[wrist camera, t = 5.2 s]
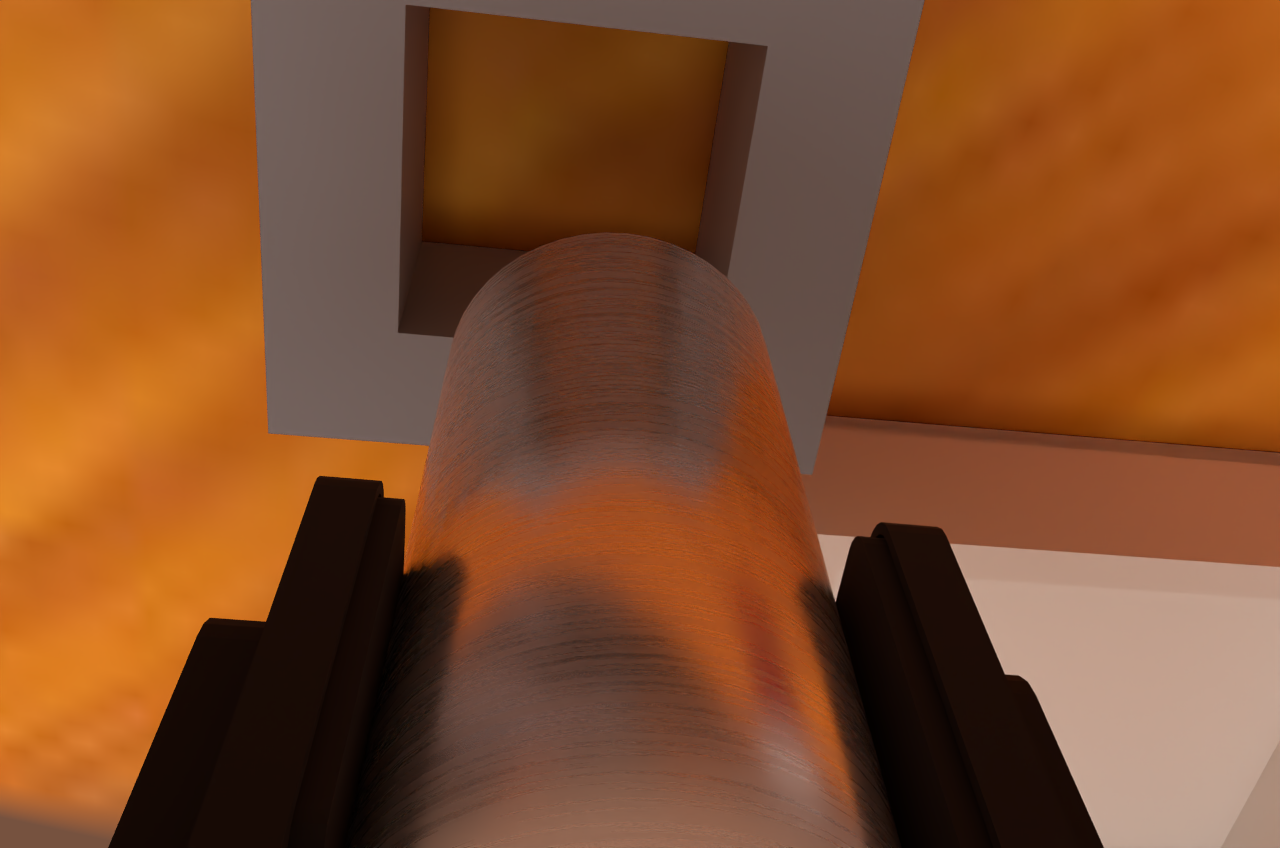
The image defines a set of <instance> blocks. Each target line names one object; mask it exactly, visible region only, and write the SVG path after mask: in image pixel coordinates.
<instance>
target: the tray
mask: <svg viewBox="0 0 1280 848" xmlns="http://www.w3.org/2000/svg"><path fill="white" fill-rule="evenodd" d="M801 476H802V480H803V484H804V487H805V491H806V495H807V499H808V502H809V506H810V510H811V513H812V517H813V521H814V525H815V528H816V532H817V536H818V539H819V543H820V547H821V550H822V554H823V558H824V562H825V565H826V569H827V573H828V576H829V580H830V584H831V588H832V591H833V595H834V599H835V602H836V598H837V594H838V590H839V587H840V583H841V579H842V575H843V571H844V567H845V564H846V560H847V556H848V552H849V549H850V546H851V543H852V541H853V539H854V538H855V537H857V536H864V537H871V534H872V531H873V530H874V528H875V526H876V525H877V524H879V523H880V522H886V523H898V524H910V525H922V526H934V527H939V528H941V529H942V530H943V531H944V533H945V534H946V536H947V538H948V541H949V543H950V545H951V548H952V550H953V553H954V555H955V557H956V560H957V562H958V564H959V567H960V569H961V571H962V574H963V576H964V579H965V581H966V583H967V586H968V588H969V590H970V593H971V595H972V598H973V600H974V602H975V605H976V607H977V609H978V612H979V614H980V616H981V619H982V621H983V624H984V626H985V628H986V631H987V633H988V635H989V638H990V640H991V642H992V645H993V647H994V650H995V652H996V654H997V657H998V659H999V661H1000V664H1001V666H1002V668H1003V671H1004V673H1005V674H1007V675H1019V676H1020V677H1022V678H1023V679H1025V680H1026V681H1028V683H1029V684H1030V686H1031V688H1032V689H1033V691H1034V692H1035V694H1036V696H1037V698H1038V701H1039V703H1040V705H1041V707H1042V710H1043V712H1044V714H1045V716H1046V719H1047V721H1048V723H1049V725H1050V728H1051V730H1052V732H1053V734H1054V737H1055V739H1056V741H1057V743H1058V746H1059V748H1060V750H1061V752H1062V754H1063V757H1064V759H1065V761H1066V763H1067V766H1068V768H1069V770H1070V772H1071V775H1072V777H1073V779H1074V781H1075V784H1076V786H1077V788H1078V790H1079V793H1080V795H1081V797H1082V799H1083V802H1084V804H1085V806H1086V808H1087V811H1088V813H1089V815H1090V817H1091V820H1092V822H1093V824H1094V826H1095V829H1096V831H1097V833H1098V835H1099V838H1100V840H1101V842H1102V844H1103V847H1104V848H1280V453H1276V452H1264V451H1252V450H1239V449H1227V448H1215V447H1203V446H1191V445H1178V444H1166V443H1154V442H1142V441H1130V440H1117V439H1105V438H1093V437H1081V436H1069V435H1056V434H1044V433H1032V432H1020V431H1007V430H995V429H983V428H971V427H959V426H946V425H934V424H922V423H910V422H898V421H885V420H873V419H861V418H849V417H837V416H826V419H825V423H824V427H823V432H822V436H821V440H820V444H819V448H818V453H817V457H816V461H815V465H814V470H813V474H812V475H807V474H801Z"/></svg>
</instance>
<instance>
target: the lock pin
mask: <svg viewBox="0 0 1280 848" xmlns="http://www.w3.org/2000/svg"><path fill="white" fill-rule="evenodd" d="M345 848H902V847H901V843H900V840H899V836H898V832H897V829H896V825H895V821H894V817H893V814H892V810H891V806H890V803H889V799H888V795H887V792H886V788H885V784H884V780H883V777H882V773H881V769H880V766H879V762H878V758H877V754H876V751H875V747H874V743H873V740H872V736H871V732H870V728H869V725H868V721H867V717H866V714H865V710H864V706H863V703H862V699H861V695H860V691H859V688H858V684H857V680H856V677H855V673H854V669H853V665H852V662H851V658H850V654H849V651H848V647H847V643H846V639H845V636H844V632H843V628H842V625H841V621H840V617H839V614H838V610H837V606H836V602H835V599H834V595H833V591H832V588H831V584H830V580H829V576H828V573H827V569H826V565H825V562H824V558H823V554H822V550H821V547H820V543H819V539H818V536H817V532H816V528H815V525H814V521H813V517H812V513H811V510H810V506H809V502H808V499H807V495H806V491H805V487H804V484H803V480H802V476H801V473H800V469H799V465H798V461H797V458H796V454H795V450H794V447H793V443H792V439H791V436H790V432H789V428H788V424H787V421H786V417H785V413H784V410H783V406H782V402H781V398H780V395H779V391H778V387H777V384H776V380H775V376H774V372H773V369H772V365H771V361H770V358H769V354H768V350H767V347H766V343H765V340H764V337H763V334H762V331H761V328H760V325H759V323H758V321H757V319H756V317H755V315H754V313H753V311H752V309H751V307H750V305H749V304H748V303H747V301H746V300H745V298H744V297H743V295H742V294H741V293H740V291H739V290H738V289H737V288H736V287H735V286H734V285H733V284H732V283H731V282H730V280H729V279H728V278H727V277H726V276H725V275H723V274H722V273H721V272H720V271H718V270H717V269H716V268H715V267H713V266H712V265H711V264H710V263H708V262H707V261H705V260H703V259H702V258H700V257H698V256H697V255H695V254H693V253H692V252H690V251H688V250H685V249H683V248H681V247H679V246H676V245H674V244H672V243H669V242H665V241H662V240H658V239H655V238H652V237H647V236H641V235H635V234H629V233H607V232H605V233H593V234H582V235H577V236H573V237H568V238H563V239H559V240H557V241H554V242H551V243H548V244H545V245H542V246H539V247H537V248H535V249H533V250H531V251H529V252H527V253H525V254H523V255H521V256H520V257H518V258H517V259H515V260H514V261H512V262H511V263H509V264H508V265H506V266H505V267H503V268H502V269H501V270H500V271H499V272H497V273H496V274H495V275H494V276H493V277H492V278H491V279H489V280H488V281H487V282H486V284H485V285H484V286H483V287H482V288H481V289H480V291H479V292H478V293H477V294H476V295H475V296H474V298H473V299H472V301H471V302H470V304H469V306H468V307H467V309H466V310H465V312H464V313H463V316H462V318H461V320H460V322H459V325H458V327H457V329H456V331H455V335H454V338H453V342H452V345H451V349H450V353H449V358H448V363H447V367H446V372H445V377H444V381H443V386H442V390H441V395H440V400H439V404H438V409H437V413H436V418H435V423H434V427H433V432H432V437H431V441H430V446H429V450H428V455H427V460H426V464H425V469H424V474H423V478H422V483H421V487H420V492H419V497H418V501H417V506H416V510H415V515H414V520H413V524H412V529H411V534H410V538H409V543H408V547H407V552H406V557H405V561H404V575H403V579H402V584H401V589H400V594H399V598H398V603H397V608H396V612H395V617H394V622H393V626H392V631H391V636H390V640H389V645H388V650H387V654H386V659H385V664H384V668H383V673H382V678H381V682H380V687H379V692H378V696H377V701H376V706H375V710H374V715H373V720H372V724H371V729H370V734H369V738H368V743H367V748H366V753H365V757H364V762H363V767H362V771H361V776H360V781H359V785H358V790H357V795H356V799H355V804H354V809H353V813H352V818H351V823H350V827H349V832H348V837H347V841H346V846H345Z"/></svg>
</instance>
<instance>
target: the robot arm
mask: <svg viewBox="0 0 1280 848" xmlns="http://www.w3.org/2000/svg"><path fill="white" fill-rule="evenodd" d="M404 545H405V500H404V499H395V498H384V490H383V483H382V481H375V480H363V479H351V478H339V477H327V476H319V477H318V478H317V480H316V482H315V484H314V487H313V490H312V493H311V495H310V498H309V501H308V504H307V507H306V510H305V513H304V515H303V518H302V521H301V524H300V527H299V530H298V532H297V535H296V538H295V541H294V544H293V547H292V550H291V552H290V555H289V558H288V561H287V564H286V567H285V569H284V572H283V575H282V578H281V581H280V584H279V587H278V589H277V592H276V595H275V598H274V601H273V604H272V606H271V609H270V612H269V615H268V618H267V621H266V622H261V621H247V620H233V619H219V618H209V619H208V620H207V621H206V622H205V623H204V624H203V626H202V628H201V630H200V631H199V633H198V635H197V637H196V640H195V642H194V645H193V647H192V649H191V652H190V654H189V656H188V659H187V661H186V664H185V666H184V668H183V671H182V673H181V675H180V678H179V680H178V683H177V685H176V687H175V690H174V692H173V695H172V697H171V699H170V702H169V704H168V706H167V709H166V711H165V714H164V716H163V718H162V721H161V723H160V726H159V728H158V730H157V733H156V735H155V737H154V740H153V742H152V745H151V747H150V749H149V752H148V754H147V757H146V759H145V761H144V764H143V766H142V768H141V771H140V773H139V776H138V778H137V780H136V783H135V785H134V788H133V790H132V792H131V795H130V797H129V799H128V802H127V804H126V807H125V809H124V811H123V814H122V816H121V819H120V821H119V823H118V826H117V828H116V830H115V833H114V835H113V838H112V840H111V842H110V845H109V847H108V848H345V846H346V841H347V837H348V832H349V827H350V823H351V818H352V813H353V809H354V804H355V799H356V795H357V790H358V785H359V781H360V776H361V771H362V767H363V762H364V757H365V753H366V748H367V743H368V738H369V734H370V729H371V724H372V720H373V715H374V710H375V706H376V701H377V696H378V692H379V687H380V682H381V678H382V673H383V668H384V664H385V659H386V654H387V650H388V645H389V640H390V636H391V631H392V626H393V622H394V617H395V612H396V608H397V603H398V598H399V594H400V589H401V584H402V579H403V575H404ZM836 606H837V610H838V614H839V617H840V621H841V625H842V628H843V632H844V636H845V639H846V643H847V647H848V651H849V654H850V658H851V662H852V665H853V669H854V673H855V677H856V680H857V684H858V688H859V691H860V695H861V699H862V703H863V706H864V710H865V714H866V717H867V721H868V725H869V728H870V732H871V736H872V740H873V743H874V747H875V751H876V754H877V758H878V762H879V766H880V769H881V773H882V777H883V780H884V784H885V788H886V792H887V795H888V799H889V803H890V806H891V810H892V814H893V817H894V821H895V825H896V829H897V832H898V836H899V840H900V843H901V847H902V848H1104V847H1103V844H1102V842H1101V840H1100V838H1099V835H1098V833H1097V831H1096V829H1095V826H1094V824H1093V822H1092V820H1091V817H1090V815H1089V813H1088V811H1087V808H1086V806H1085V804H1084V802H1083V799H1082V797H1081V795H1080V793H1079V790H1078V788H1077V786H1076V784H1075V781H1074V779H1073V777H1072V775H1071V772H1070V770H1069V768H1068V766H1067V763H1066V761H1065V759H1064V757H1063V754H1062V752H1061V750H1060V748H1059V746H1058V743H1057V741H1056V739H1055V737H1054V734H1053V732H1052V730H1051V728H1050V725H1049V723H1048V721H1047V719H1046V716H1045V714H1044V712H1043V710H1042V707H1041V705H1040V703H1039V701H1038V698H1037V696H1036V694H1035V692H1034V691H1033V689H1032V688H1031V686H1030V684H1029V683H1028V681H1026V680H1025V679H1023V678H1022V677H1020V676H1019V675H1007V674H1005V673H1004V671H1003V668H1002V666H1001V664H1000V661H999V659H998V657H997V654H996V652H995V650H994V647H993V645H992V642H991V640H990V638H989V635H988V633H987V631H986V628H985V626H984V624H983V621H982V619H981V616H980V614H979V612H978V609H977V607H976V605H975V602H974V600H973V598H972V595H971V593H970V590H969V588H968V586H967V583H966V581H965V579H964V576H963V574H962V571H961V569H960V567H959V564H958V562H957V560H956V557H955V555H954V553H953V550H952V548H951V545H950V543H949V541H948V538H947V536H946V534H945V533H944V531H943V530H942V529H941V528H939V527H934V526H922V525H910V524H898V523H886V522H880V523H879V524H877V525H876V526H875V528H874V530H873V531H872V534H871V537H864V536H857V537H855V538H854V539H853V541H852V543H851V546H850V549H849V552H848V556H847V560H846V564H845V567H844V571H843V575H842V579H841V583H840V587H839V590H838V594H837V598H836Z"/></svg>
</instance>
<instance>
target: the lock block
mask: <svg viewBox="0 0 1280 848" xmlns="http://www.w3.org/2000/svg"><path fill="white" fill-rule="evenodd" d="M923 5H924V0H251V14H252V39H253V64H254V89H255V113H256V138H257V163H258V187H259V212H260V237H261V262H262V286H263V311H264V336H265V360H266V385H267V410H268V433H271V434H284V435H298V436H311V437H324V438H337V439H350V440H363V441H376V442H389V443H402V444H415V445H428V446H430V441H431V437H432V432H433V427H434V423H435V418H436V413H437V409H438V404H439V400H440V395H441V390H442V386H443V381H444V377H445V372H446V367H447V363H448V358H449V353H450V349H451V345H452V342H453V338H454V335H455V331H456V329H457V327H458V325H459V322H460V320H461V318H462V316H463V313H464V312H465V310H466V309H467V307H468V306H469V304H470V302H471V301H472V299H473V298H474V296H475V295H476V294H477V293H478V292H479V291H480V289H481V288H482V287H483V286H484V285H485V284H486V282H487V281H488V280H489V279H491V278H492V277H493V276H494V275H495V274H496V273H497V272H499V271H500V270H501V269H502V268H503V267H505V266H506V265H508V264H509V263H511V262H512V261H514V260H515V259H517V258H518V257H520V256H521V255H523V254H525V253H527V252H529V251H520V250H509V249H499V248H488V247H477V246H467V245H456V244H446V243H435V242H424V241H422V224H423V194H424V164H425V134H426V104H427V73H428V43H429V13H430V7H432V8H441V9H449V10H458V11H467V12H476V13H484V14H493V15H502V16H510V17H519V18H528V19H537V20H545V21H554V22H563V23H572V24H580V25H589V26H598V27H606V28H615V29H624V30H633V31H641V32H650V33H659V34H668V35H676V36H685V37H694V38H703V39H711V40H720V41H729V45H728V51H727V57H726V64H725V70H724V76H723V83H722V89H721V95H720V101H719V108H718V114H717V120H716V127H715V133H714V139H713V145H712V152H711V158H710V164H709V171H708V177H707V183H706V190H705V196H704V202H703V208H702V215H701V221H700V227H699V234H698V240H697V246H696V252H695V255H697V256H698V257H700V258H702V259H703V260H705V261H707V262H708V263H710V264H711V265H712V266H713V267H715V268H716V269H717V270H718V271H720V272H721V273H722V274H723V275H725V276H726V277H727V278H728V279H729V280H730V282H731V283H732V284H733V285H734V286H735V287H736V288H737V289H738V290H739V291H740V293H741V294H742V295H743V297H744V298H745V300H746V301H747V303H748V304H749V305H750V307H751V309H752V311H753V313H754V315H755V317H756V319H757V321H758V323H759V325H760V328H761V331H762V334H763V337H764V340H765V343H766V347H767V350H768V354H769V358H770V361H771V365H772V369H773V372H774V376H775V380H776V384H777V387H778V391H779V395H780V398H781V402H782V406H783V410H784V413H785V417H786V421H787V424H788V428H789V432H790V436H791V439H792V443H793V447H794V450H795V454H796V458H797V461H798V465H799V469H800V473H801V474H807V475H812V474H813V470H814V465H815V461H816V457H817V453H818V448H819V444H820V440H821V436H822V432H823V427H824V423H825V419H826V415H827V410H828V406H829V402H830V398H831V394H832V389H833V385H834V381H835V377H836V372H837V368H838V364H839V360H840V355H841V351H842V347H843V343H844V339H845V334H846V330H847V326H848V322H849V317H850V313H851V309H852V305H853V301H854V296H855V292H856V288H857V284H858V279H859V275H860V271H861V267H862V262H863V258H864V254H865V250H866V246H867V241H868V237H869V233H870V229H871V224H872V220H873V216H874V212H875V208H876V203H877V199H878V195H879V191H880V186H881V182H882V178H883V174H884V169H885V165H886V161H887V157H888V153H889V148H890V144H891V140H892V136H893V131H894V127H895V123H896V119H897V115H898V110H899V106H900V102H901V98H902V93H903V89H904V85H905V81H906V76H907V72H908V68H909V64H910V60H911V55H912V51H913V47H914V43H915V38H916V34H917V30H918V26H919V22H920V17H921V13H922V9H923Z"/></svg>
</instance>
